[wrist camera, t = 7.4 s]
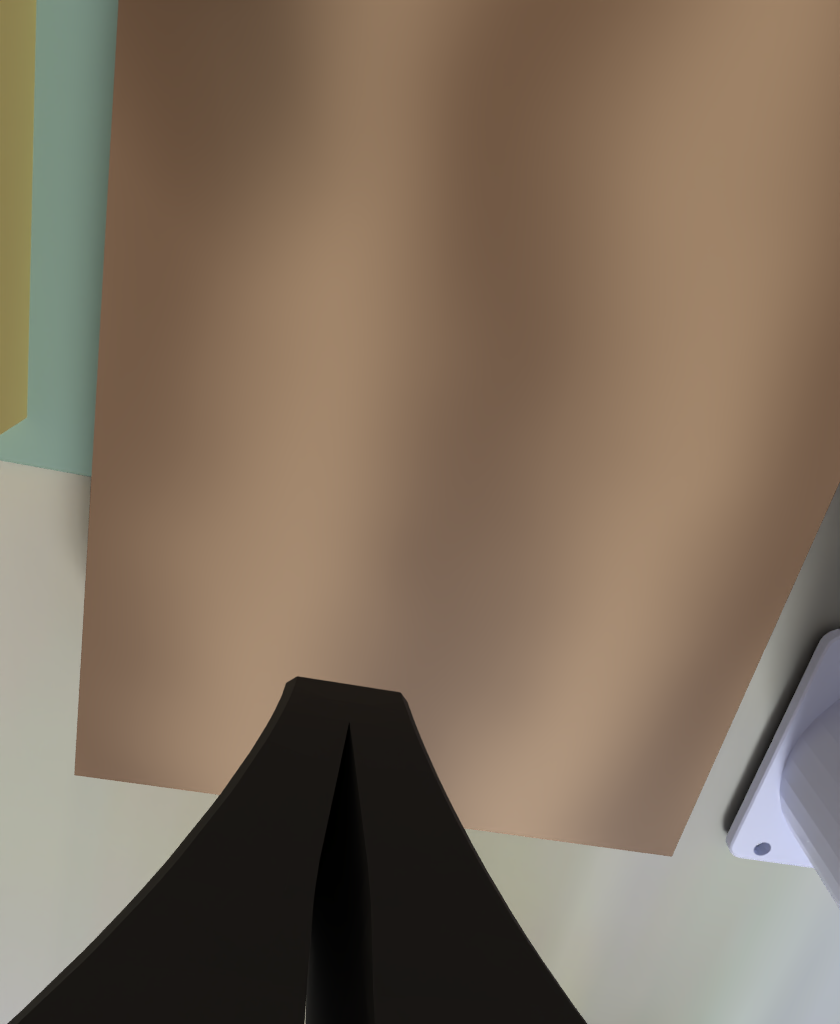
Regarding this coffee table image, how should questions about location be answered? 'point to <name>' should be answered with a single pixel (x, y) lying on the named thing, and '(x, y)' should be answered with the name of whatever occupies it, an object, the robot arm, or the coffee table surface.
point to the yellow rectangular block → (15, 202)
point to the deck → (462, 385)
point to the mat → (67, 232)
